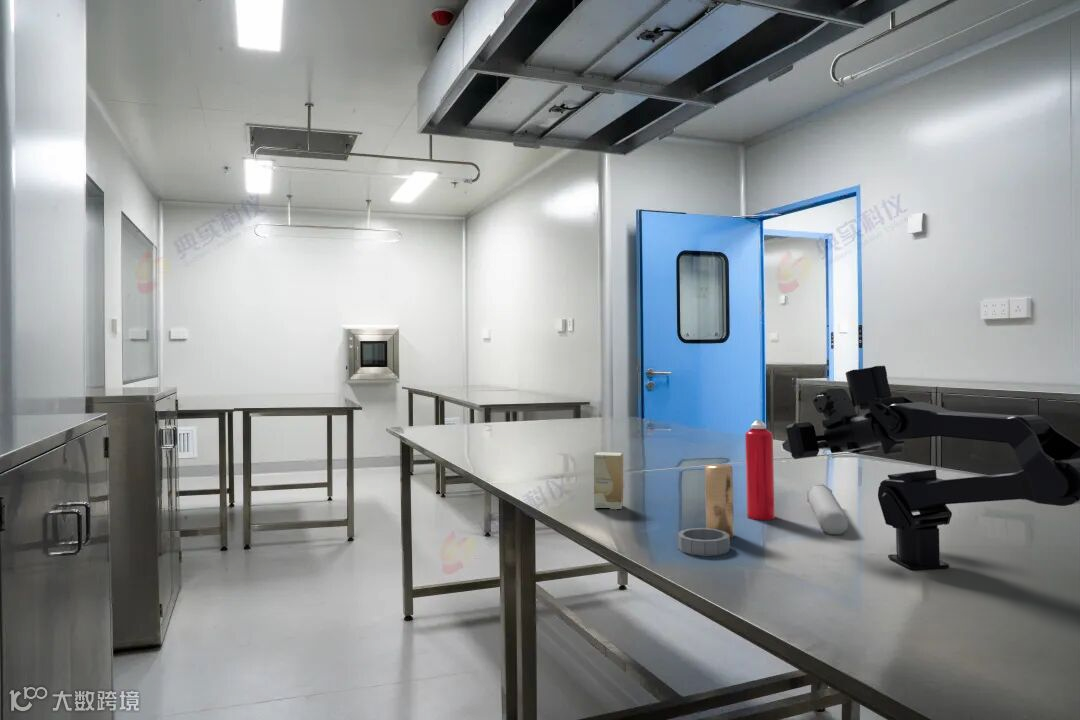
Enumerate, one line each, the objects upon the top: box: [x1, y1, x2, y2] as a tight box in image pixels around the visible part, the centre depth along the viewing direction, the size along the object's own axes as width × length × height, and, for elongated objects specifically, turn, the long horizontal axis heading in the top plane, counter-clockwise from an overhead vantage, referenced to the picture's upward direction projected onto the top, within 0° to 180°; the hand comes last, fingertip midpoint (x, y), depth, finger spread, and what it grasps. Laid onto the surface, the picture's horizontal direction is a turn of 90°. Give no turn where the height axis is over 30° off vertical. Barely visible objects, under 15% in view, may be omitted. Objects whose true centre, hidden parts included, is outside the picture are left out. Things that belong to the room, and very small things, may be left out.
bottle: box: [744, 419, 776, 521], centre depth 145 cm, size 5×5×20 cm
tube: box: [806, 483, 849, 536], centre depth 141 cm, size 5×5×25 cm
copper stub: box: [704, 463, 735, 539], centre depth 132 cm, size 5×5×13 cm
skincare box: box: [593, 451, 624, 510], centre depth 157 cm, size 6×4×12 cm
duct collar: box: [677, 527, 731, 557], centre depth 123 cm, size 9×9×2 cm
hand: (802, 444), depth 135 cm, fingers open, 9 cm apart
